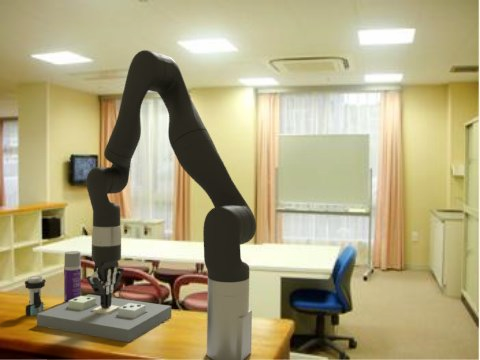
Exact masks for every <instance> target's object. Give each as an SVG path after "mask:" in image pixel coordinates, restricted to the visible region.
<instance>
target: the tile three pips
mask: <svg viewBox="0 0 480 360" xmlns="http://www.w3.org/2000/svg"><path fill="white" fill-rule="evenodd" d="M143 314H145V305H141V304H134V303H128V304H126V305H124V306H122V307H119V308H118V316H120V317H126V318H132V319H136V318H138V317H140V316H142V315H143Z"/></svg>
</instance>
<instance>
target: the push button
mask: <svg viewBox="0 0 480 360" xmlns="http://www.w3.org/2000/svg"><path fill="white" fill-rule="evenodd" d="M45 283H46V279H43V276H40V275H39V276H38V275H37V276H36V275H35V276H30V277H28V278H27V280H25V281H24V285H25V289H28V290H29V299H28V305H25V316H29V317H35V316H37V314H38V313H41V312H44V309H45V308H46V306H44V305H46V303H44V302H43V301H42V298H41V297H42V296H41V295H42V292H41V289H43V288H44V287H45V285H46V284H45Z"/></svg>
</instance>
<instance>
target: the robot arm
mask: <svg viewBox="0 0 480 360" xmlns="http://www.w3.org/2000/svg"><path fill="white" fill-rule="evenodd" d="M177 63H178V62H176V61H175V60H174V59H173V58H172V57H170V56H168V55H166V54H163V53H159V52H155V51H153V50H149V49H148V50H145V49H144V50H140V51H138V52H137V53H136V54H135V55H134V56H133V58H132V59H131V62H130V64H129V67H128V71H127V75H126V80H125V84H124V89H123V92H122V96H121V101H120V106H119V109H118V114H117V118H116V121H115V124H114V127H113V129H112V131H111V133H110V137H109V139H108V142H107V144H106V146H105V149H104V153H103V155H104V158H105V160H107V161H108V162H109V163H111V166H108V167H106V166H103V167H102V166H97V167H93V168H92V169H90V170H89V172H88V173H87V176H86V180H85V183H86V184H85V185H86V189H87V192H88V194H87V195H88V196H89V197H88V198H89V200H90V204H91V208H92V231H91V260H92V262H94V266H93V274H92V275H90V276H89V275H88V276H87V278H86V281H87V282H88V284H89V286H91V289H92V290H93V291H94V293H95V294H99V296H100V300H101V301H100V305H101V307H102V308H109V307H111V298H113V297H112V294H113V292H114V290H117V288H118V286H119V283H120V282H121V279H122V276H123V275H124V272H125V269H124V268H123V267H122V268H121V267H120V266H119V261H120V260H121V259H122V228H121V206H120V205H119V204H118V203H115V202H111V200H110V199H109V196H108V194H110V195H111V194H112V195H113V194H119V193H121V192H122V191H123V190H124V189H125V188H126V187H127V185H128V183H129V178H130V171H131V165H132V163H131V162H132V158H133V157H134V154H135V152H136V150H137V147H138V145H139V142H140V140H141V135H142V125H141V124H142V122H141V108H142V104H143V101H144V99H145V97H146V95H147V93H148V92H149V91H150V92H156V93H157V94H158V96H160V98H161V100H162V102H163V103H164V106H165V108H166V110H167V114H168V133H167V135H168V140H169V144H170V146H171V149H172V150H173V152H174V155H175V157H176V159H177V161H178V163H179V165H180V167H181V168H182V169H183V170H184V171H185V172H186V174H187V175H188V176H189V177H190V178H191V179H192V180H193V181H194V182H195V183H196V184H197V185H199V187H200V188H201V189H202V190H203V191H204V192H205V194H206V195H207V196H208V198H209V199H210V201H211V203H212V205H213V208H211V209H210V210H209V211H208V212H207V214H206V215H205V218H204V222H203V228H202V230H203V231H202V232H203V235H202V236H203V239H202V240H203V258H204V261H203V262H204V265H205V268H206V269H207V303H206V304H207V305H206V307H207V308H206V309H207V310H206V354H207V357H208V358H209V359H211V360H245V359H246V358H247V357H248V356H249V355H250V354H251V353H252V336H253V335H252V332H253V329H252V327H253V321H252V320H253V310H251V309H250V308H249V307H250V266H249V265H248V263H247V262H244V261H243V260H242V258H241V257H242V256H241V245H244V244H246V243H249V242H251V240H252V239H253V238H254V237H255V236H256V235H255V234H256V231H257V222H256V218H255V215H254V213H253V211H252V209H251V208H250V206H249V204H248V203H247V201H246V200H245V198H244V197H243V195H242V194H241V193H240V191H239V188H238V187H237V185H235V183H234V181H233V179H232V178H231V176H230V173H229V171H228V169H227V167H226V166H225V164H224V161H223V159H222V158H221V156H220V154H219V152H218V150H217V148H216V145H215V143H214V142H213V141H214V140H213V139H212V137H211V135H210V134H209V130H207V127H206V126H205V124H204V122H203V121H202V118H201V117H200V114H199V112H198V110H197V108H196V106H195V104H194V102H193V100H192V98H191V95H190V93H189V91H188V88H187V85H186V83H185V80H184V77H183V75H182V72H181V69H180V68H179V65H178V64H177Z"/></svg>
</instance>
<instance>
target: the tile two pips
mask: <svg viewBox="0 0 480 360" xmlns="http://www.w3.org/2000/svg"><path fill="white" fill-rule="evenodd" d="M94 306H96V298H92V297H86V295H81V296H79V297H77V298H74V299H71V300H69V301H68V308H69V309H76V310H82V311H84V310H87V309H89V308H91V307H94Z"/></svg>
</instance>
